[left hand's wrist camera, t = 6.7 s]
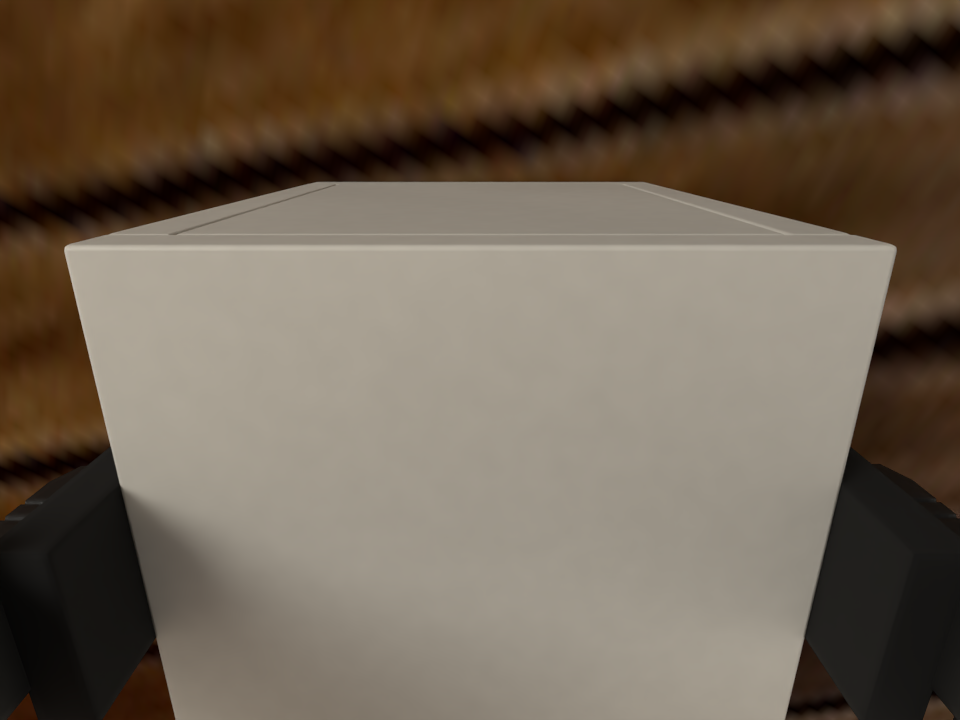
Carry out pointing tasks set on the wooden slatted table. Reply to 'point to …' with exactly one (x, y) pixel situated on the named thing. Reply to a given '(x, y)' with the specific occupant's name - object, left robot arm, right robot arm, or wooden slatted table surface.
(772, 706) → the cabinet
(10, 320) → the wooden slatted table surface
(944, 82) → the wooden slatted table surface
